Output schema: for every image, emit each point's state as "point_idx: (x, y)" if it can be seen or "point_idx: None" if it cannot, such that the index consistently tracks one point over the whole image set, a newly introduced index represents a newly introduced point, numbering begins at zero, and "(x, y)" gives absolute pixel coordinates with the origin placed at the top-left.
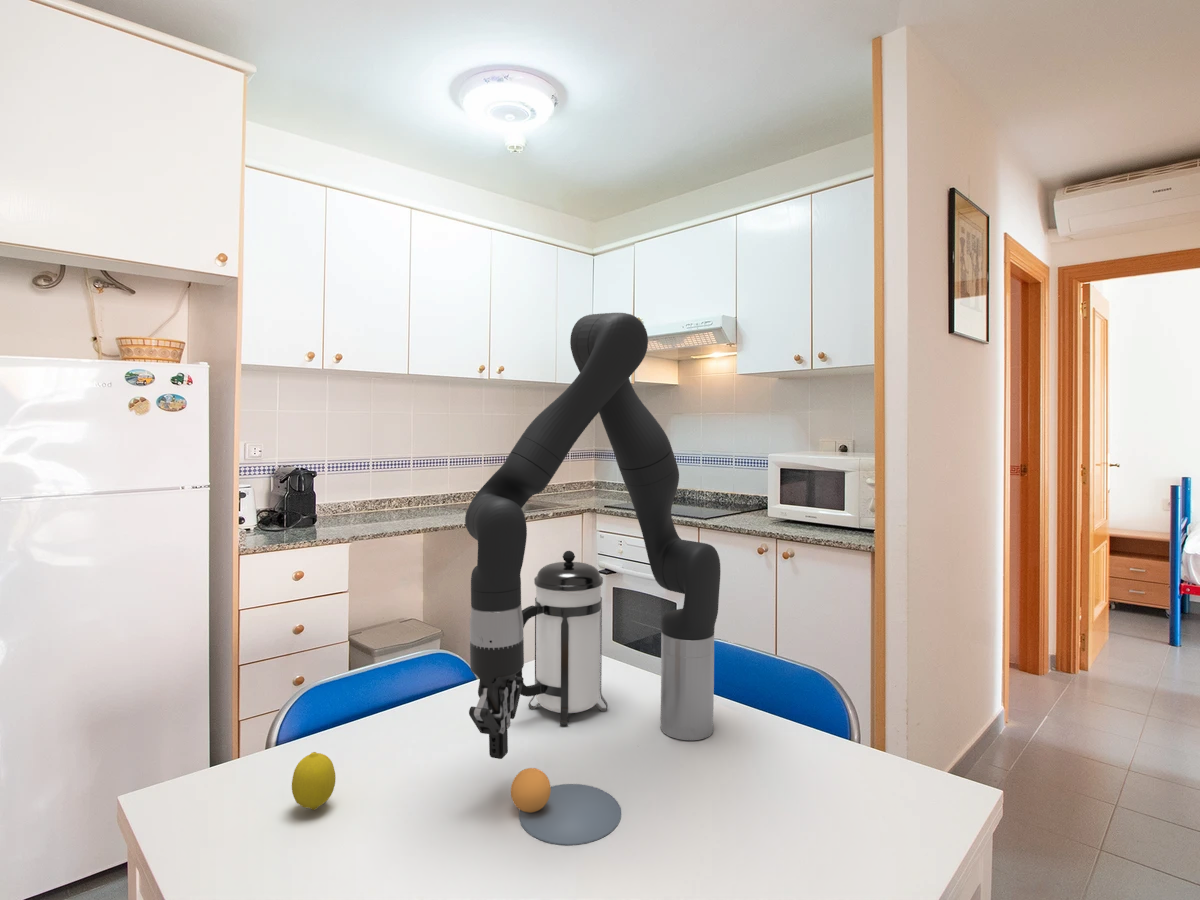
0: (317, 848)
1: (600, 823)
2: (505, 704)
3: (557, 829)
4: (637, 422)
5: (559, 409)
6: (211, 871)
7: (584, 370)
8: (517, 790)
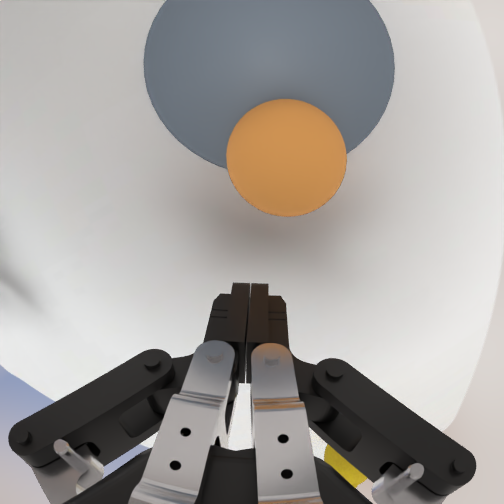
0: (418, 391)
1: None
2: (281, 468)
3: (348, 63)
4: None
5: None
6: (436, 422)
7: None
8: (339, 185)
